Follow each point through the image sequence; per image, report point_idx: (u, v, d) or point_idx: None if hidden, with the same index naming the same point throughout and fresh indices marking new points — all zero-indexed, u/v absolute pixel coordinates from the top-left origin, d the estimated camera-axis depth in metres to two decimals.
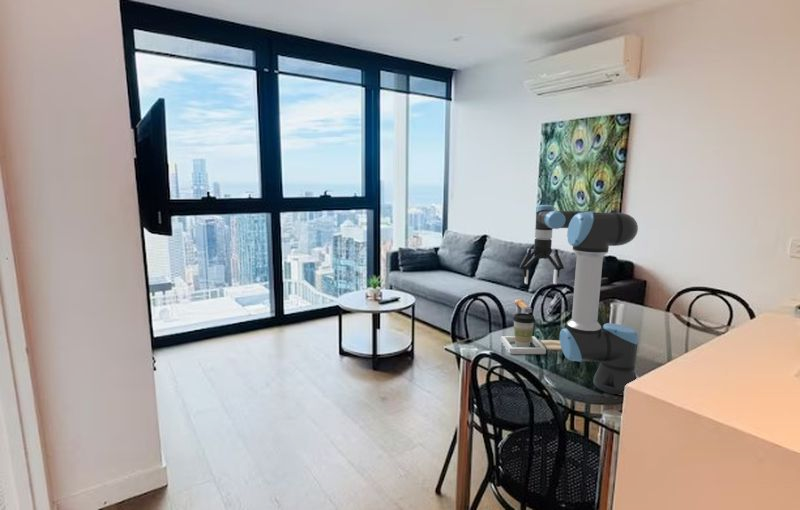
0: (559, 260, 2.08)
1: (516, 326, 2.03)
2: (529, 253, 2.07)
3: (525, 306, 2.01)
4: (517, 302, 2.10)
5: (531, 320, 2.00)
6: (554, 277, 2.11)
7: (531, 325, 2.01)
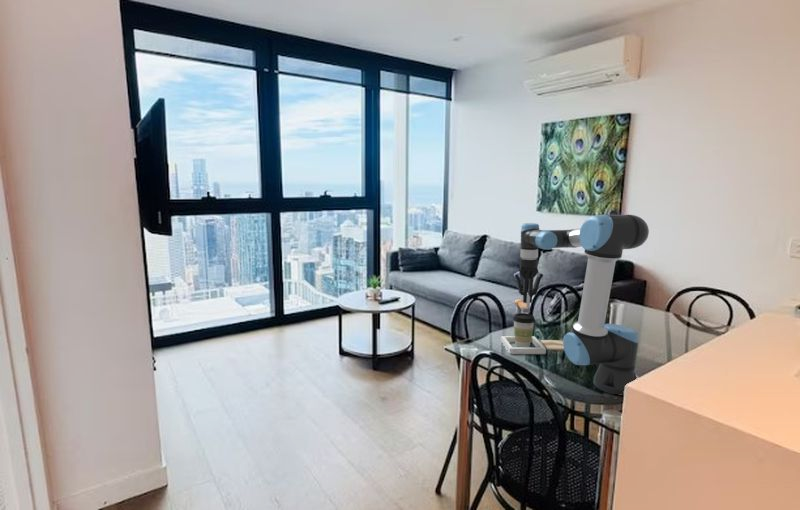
0: (537, 285, 2.00)
1: (516, 326, 2.03)
2: (518, 278, 1.99)
3: (524, 306, 2.01)
4: (517, 302, 2.10)
5: (531, 320, 2.00)
6: None
7: (531, 325, 2.01)
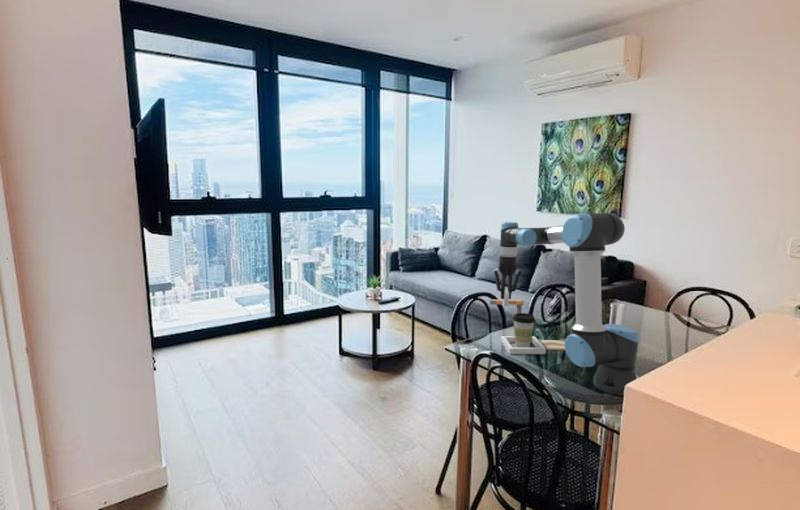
0: (516, 282, 2.07)
1: (516, 326, 2.03)
2: (496, 274, 2.06)
3: None
4: None
5: (531, 320, 2.00)
6: (506, 300, 2.10)
7: (531, 325, 2.01)
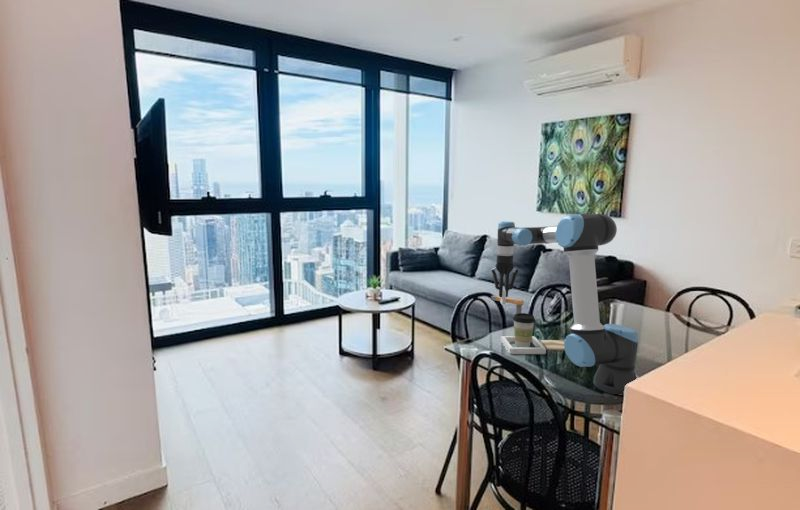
0: (513, 280, 2.11)
1: (516, 326, 2.03)
2: (494, 273, 2.10)
3: None
4: None
5: (531, 320, 2.00)
6: None
7: (531, 325, 2.01)
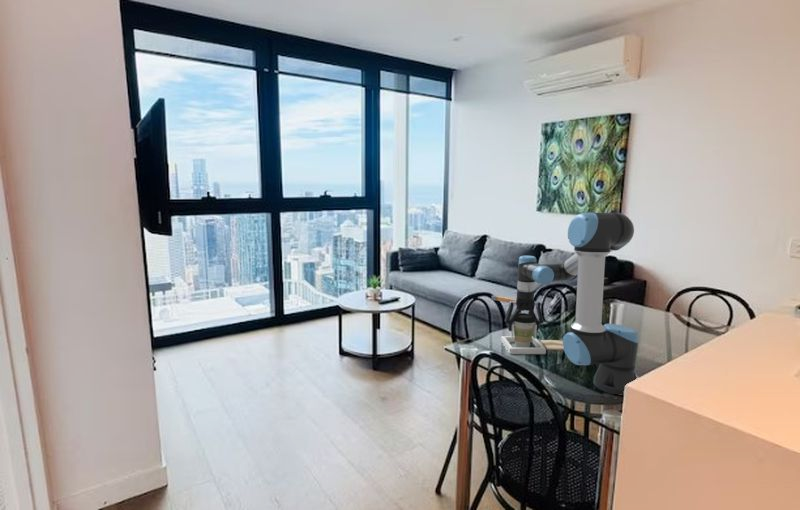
0: (540, 314, 2.03)
1: (515, 326, 2.03)
2: (512, 306, 2.02)
3: (499, 296, 2.18)
4: None
5: (531, 320, 2.00)
6: (533, 331, 2.06)
7: (531, 325, 2.01)
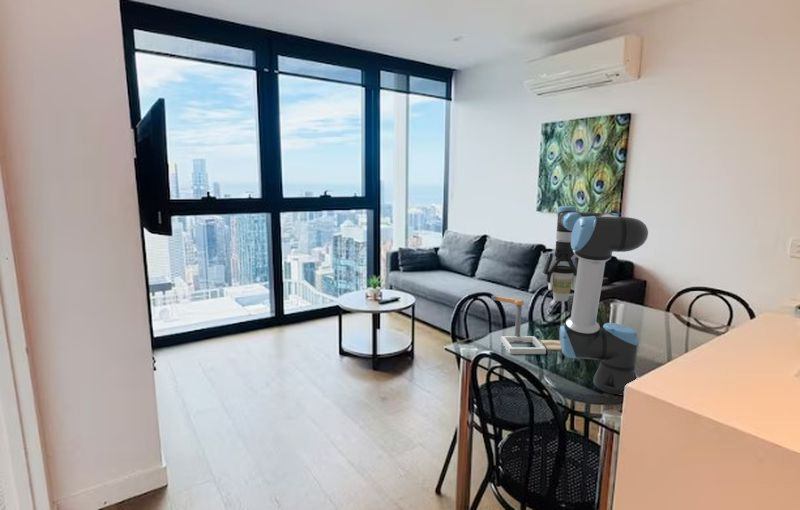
0: None
1: (554, 277, 2.02)
2: (551, 257, 2.01)
3: (499, 296, 2.18)
4: None
5: (570, 270, 1.99)
6: (572, 283, 2.04)
7: (570, 276, 2.00)
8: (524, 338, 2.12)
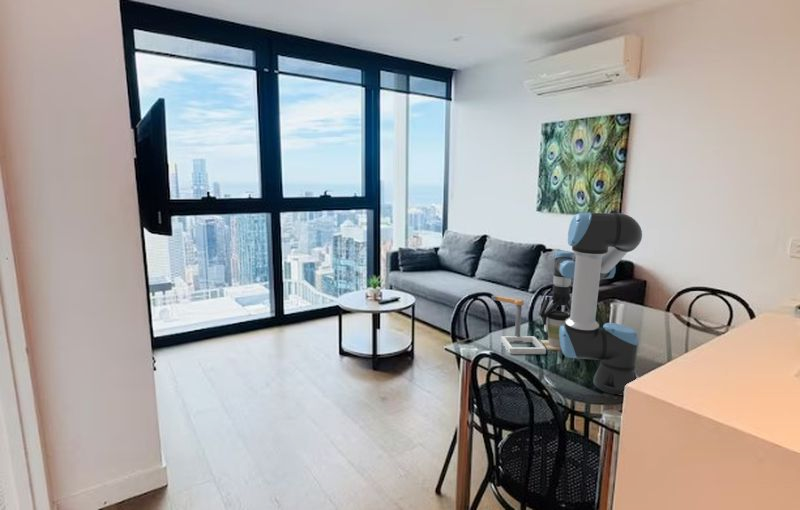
0: None
1: (550, 323, 2.05)
2: (548, 301, 2.04)
3: (499, 296, 2.18)
4: None
5: (566, 317, 2.02)
6: None
7: None
8: (524, 338, 2.12)
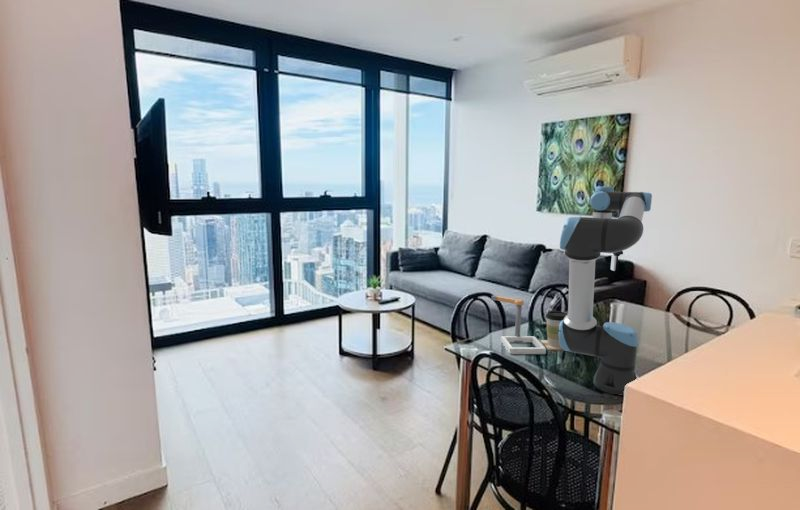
0: None
1: (549, 323, 2.05)
2: None
3: (499, 296, 2.18)
4: None
5: None
6: (612, 264, 1.99)
7: None
8: (524, 338, 2.12)
